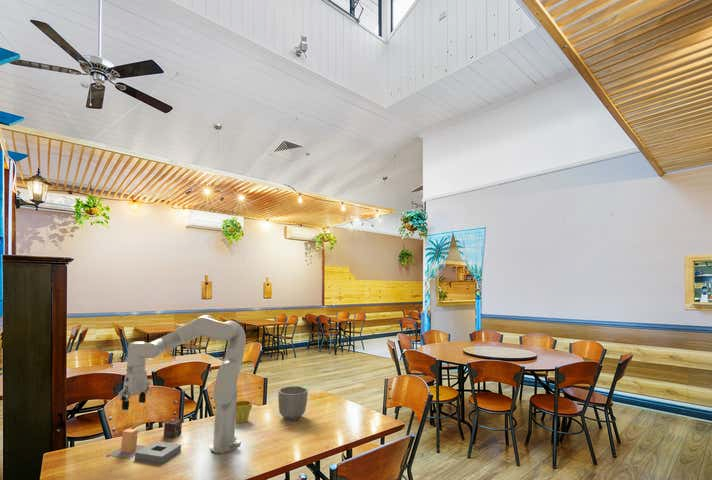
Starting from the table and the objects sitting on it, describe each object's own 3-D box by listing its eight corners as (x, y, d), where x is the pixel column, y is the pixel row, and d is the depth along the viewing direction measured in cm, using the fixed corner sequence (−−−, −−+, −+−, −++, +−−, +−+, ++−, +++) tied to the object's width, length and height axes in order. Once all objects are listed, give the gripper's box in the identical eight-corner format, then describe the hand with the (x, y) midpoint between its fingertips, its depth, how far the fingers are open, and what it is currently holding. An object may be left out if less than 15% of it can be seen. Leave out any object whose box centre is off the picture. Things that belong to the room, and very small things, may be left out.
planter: (282, 412, 225) (284, 385, 227) (310, 414, 222) (311, 386, 224) (272, 422, 208) (274, 393, 210) (302, 425, 206) (303, 395, 207)
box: (173, 439, 184) (174, 424, 185) (162, 438, 185) (164, 423, 186) (181, 434, 190) (182, 419, 191) (171, 433, 191) (172, 418, 192)
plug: (136, 449, 171) (137, 429, 172) (130, 453, 167) (131, 432, 168) (127, 448, 172) (128, 428, 173) (120, 451, 169) (122, 431, 170)
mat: (149, 448, 174) (149, 446, 174) (128, 459, 162) (129, 458, 163) (128, 444, 177) (128, 443, 177) (106, 456, 165) (106, 454, 165)
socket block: (180, 452, 170) (181, 444, 171) (161, 465, 159) (162, 456, 159) (155, 448, 173) (155, 441, 174) (134, 460, 162) (135, 452, 162)
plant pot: (234, 425, 202) (235, 407, 203) (230, 419, 211) (231, 401, 212) (252, 422, 208) (253, 404, 209) (248, 416, 216) (249, 399, 217)
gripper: (127, 373, 164) (125, 413, 163) (156, 364, 181) (154, 400, 179) (113, 372, 166) (111, 411, 164) (143, 364, 183) (141, 399, 181)
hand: (133, 405), depth 172 cm, fingers open, 9 cm apart
